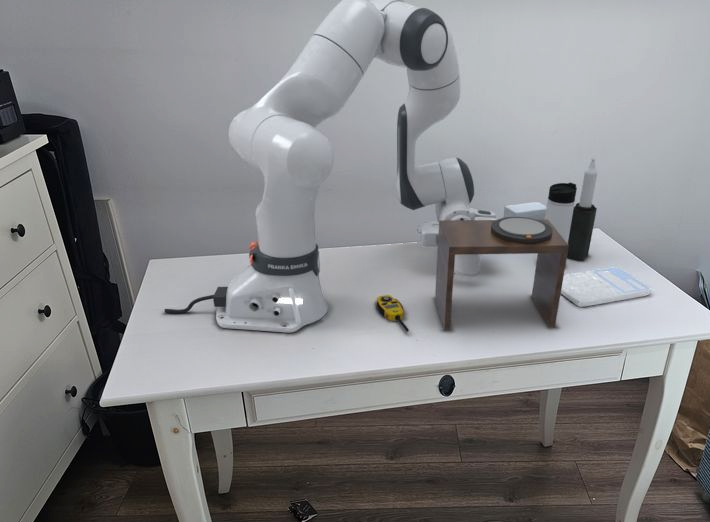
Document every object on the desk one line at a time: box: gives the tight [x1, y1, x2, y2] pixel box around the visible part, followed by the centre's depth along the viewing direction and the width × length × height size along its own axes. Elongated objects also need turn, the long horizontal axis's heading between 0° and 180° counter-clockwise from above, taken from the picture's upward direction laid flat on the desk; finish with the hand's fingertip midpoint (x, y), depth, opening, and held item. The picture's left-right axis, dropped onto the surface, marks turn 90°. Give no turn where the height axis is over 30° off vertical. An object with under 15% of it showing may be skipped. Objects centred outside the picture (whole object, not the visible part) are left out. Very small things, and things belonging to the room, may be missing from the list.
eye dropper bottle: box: [454, 254, 481, 277], centre depth 138 cm, size 4×6×12 cm
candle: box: [567, 157, 598, 262], centre depth 152 cm, size 5×5×25 cm
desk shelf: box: [434, 220, 569, 332], centre depth 127 cm, size 23×14×18 cm, turn 96°
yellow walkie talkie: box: [376, 294, 410, 333], centre depth 128 cm, size 5×2×15 cm
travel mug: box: [545, 181, 578, 244], centre depth 148 cm, size 6×7×20 cm
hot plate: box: [491, 217, 553, 244], centre depth 122 cm, size 12×12×1 cm
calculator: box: [561, 266, 652, 308], centre depth 142 cm, size 13×20×2 cm, turn 112°
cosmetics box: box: [502, 201, 547, 220], centre depth 161 cm, size 10×6×10 cm, turn 113°
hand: (469, 247), depth 137 cm, fingers closed on eye dropper bottle, 5 cm apart
